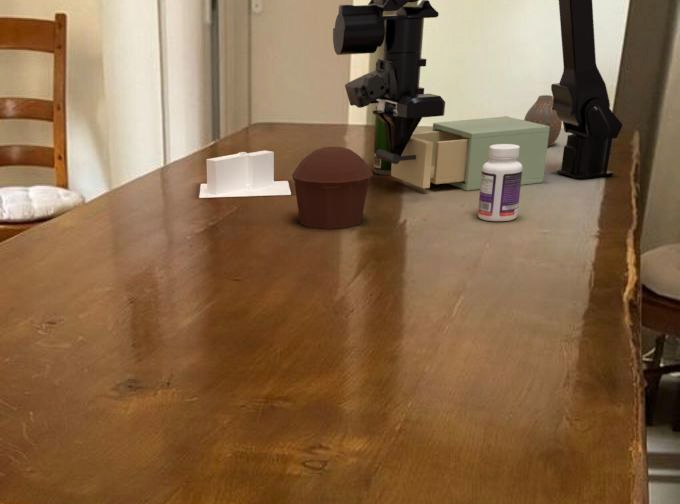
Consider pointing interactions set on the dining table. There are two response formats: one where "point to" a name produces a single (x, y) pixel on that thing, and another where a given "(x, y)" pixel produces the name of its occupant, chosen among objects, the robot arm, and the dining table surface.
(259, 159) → the napkin holder
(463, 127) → the cabinet
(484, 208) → the pill bottle
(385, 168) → the beer can
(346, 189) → the muffin
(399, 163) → the drawer
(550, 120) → the vase
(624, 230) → the dining table surface
